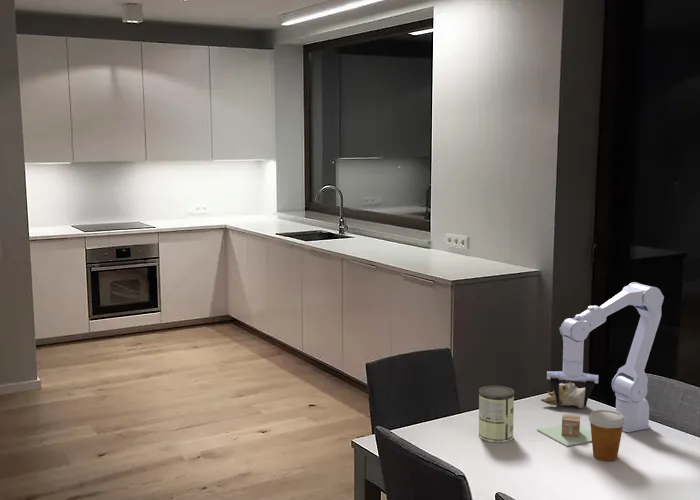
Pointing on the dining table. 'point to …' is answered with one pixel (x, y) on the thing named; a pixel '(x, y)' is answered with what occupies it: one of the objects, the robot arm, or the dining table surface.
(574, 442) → the mat
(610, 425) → the disposable coffee cup
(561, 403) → the ceramic sculpture
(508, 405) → the coffee can
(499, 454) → the dining table surface
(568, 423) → the letter cube
